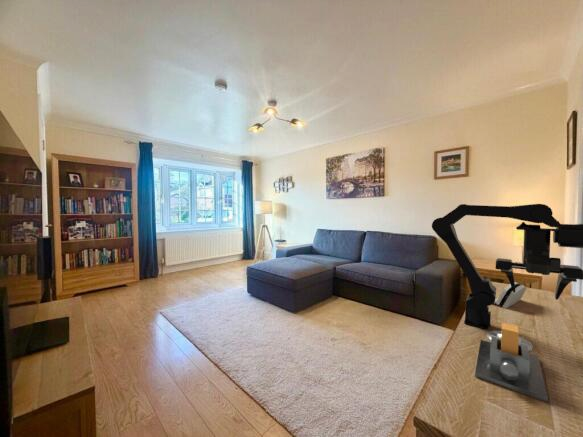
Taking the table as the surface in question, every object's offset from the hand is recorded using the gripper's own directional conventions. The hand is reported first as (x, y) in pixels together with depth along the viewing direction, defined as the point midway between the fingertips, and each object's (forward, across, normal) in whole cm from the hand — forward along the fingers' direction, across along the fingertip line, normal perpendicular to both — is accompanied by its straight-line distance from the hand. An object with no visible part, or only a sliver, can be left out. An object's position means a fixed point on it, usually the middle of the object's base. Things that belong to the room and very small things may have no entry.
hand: (534, 295), depth 75 cm
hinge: (+13, -5, +31) cm, 34 cm away
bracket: (+13, -6, -24) cm, 28 cm away
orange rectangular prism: (+12, -6, -26) cm, 29 cm away
